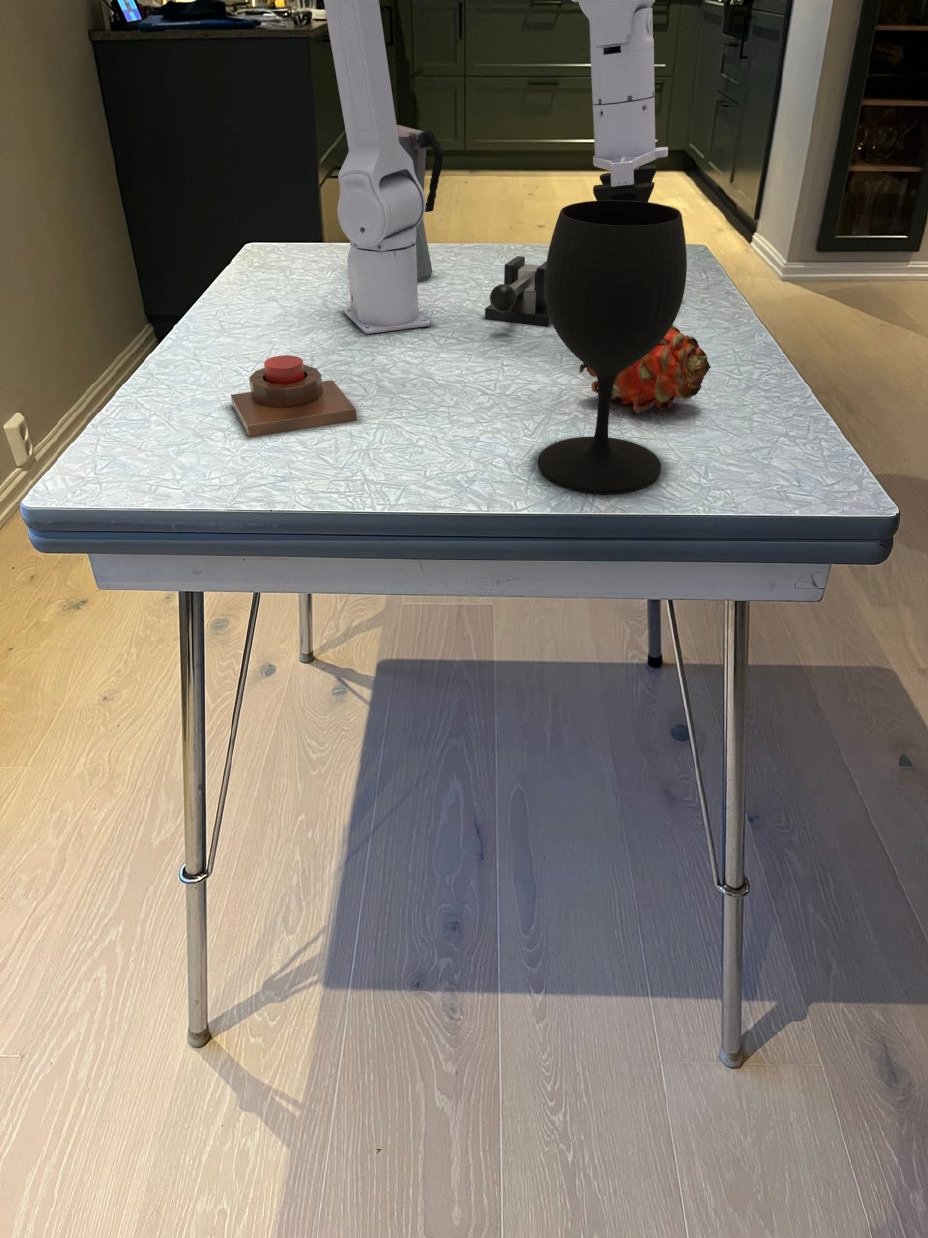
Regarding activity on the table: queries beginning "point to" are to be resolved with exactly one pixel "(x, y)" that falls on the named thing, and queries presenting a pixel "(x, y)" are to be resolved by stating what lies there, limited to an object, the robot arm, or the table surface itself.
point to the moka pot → (422, 184)
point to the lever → (514, 289)
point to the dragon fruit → (661, 374)
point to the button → (284, 369)
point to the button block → (291, 404)
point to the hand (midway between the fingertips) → (628, 253)
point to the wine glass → (611, 322)
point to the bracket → (524, 298)
